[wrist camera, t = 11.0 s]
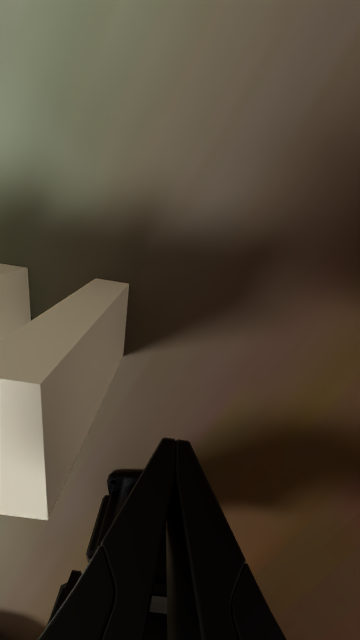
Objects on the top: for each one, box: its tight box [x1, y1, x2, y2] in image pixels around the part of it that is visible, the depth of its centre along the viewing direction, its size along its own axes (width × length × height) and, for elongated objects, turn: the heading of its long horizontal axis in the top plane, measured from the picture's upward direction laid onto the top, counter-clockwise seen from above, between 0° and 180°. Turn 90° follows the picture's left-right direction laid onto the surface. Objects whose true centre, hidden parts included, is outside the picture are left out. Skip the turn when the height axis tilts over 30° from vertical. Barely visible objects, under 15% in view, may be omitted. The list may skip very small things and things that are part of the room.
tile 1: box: [0, 278, 129, 520], centre depth 12 cm, size 2×5×10 cm, turn 171°
